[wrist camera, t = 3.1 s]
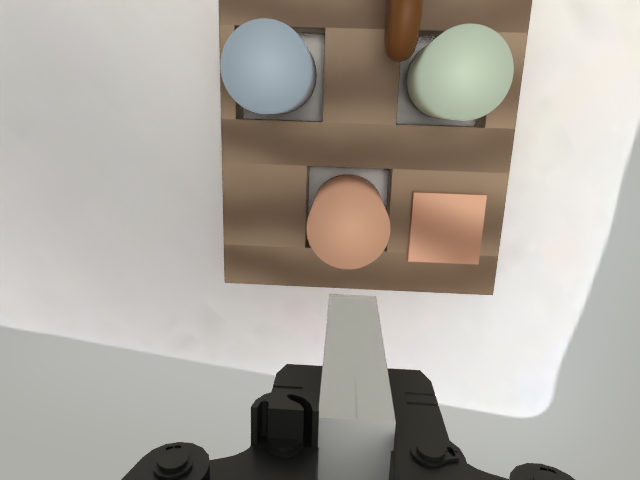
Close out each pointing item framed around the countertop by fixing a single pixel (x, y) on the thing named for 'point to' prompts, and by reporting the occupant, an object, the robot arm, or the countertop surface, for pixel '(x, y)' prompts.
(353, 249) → the peach rounded cylinder
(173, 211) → the countertop surface
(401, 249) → the wooden compartment tray
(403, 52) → the mug
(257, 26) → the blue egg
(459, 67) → the pale green rounded cylinder
